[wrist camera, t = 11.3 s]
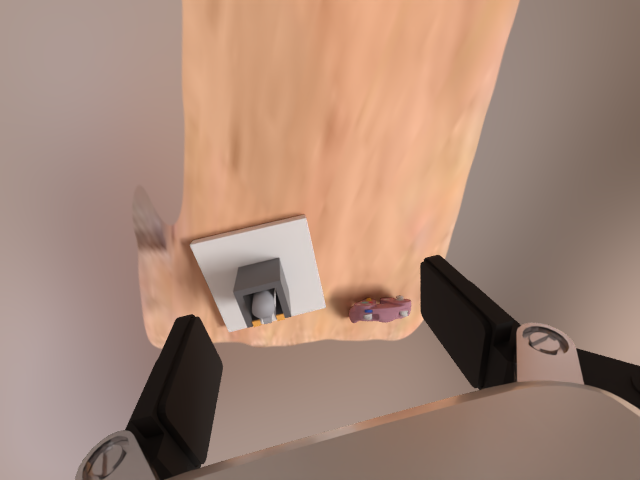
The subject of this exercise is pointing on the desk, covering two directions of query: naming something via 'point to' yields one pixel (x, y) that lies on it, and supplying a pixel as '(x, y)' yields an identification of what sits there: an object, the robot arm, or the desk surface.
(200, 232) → the desk surface
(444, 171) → the desk surface
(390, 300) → the video game controller
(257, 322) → the grey u-shaped bracket
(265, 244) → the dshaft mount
